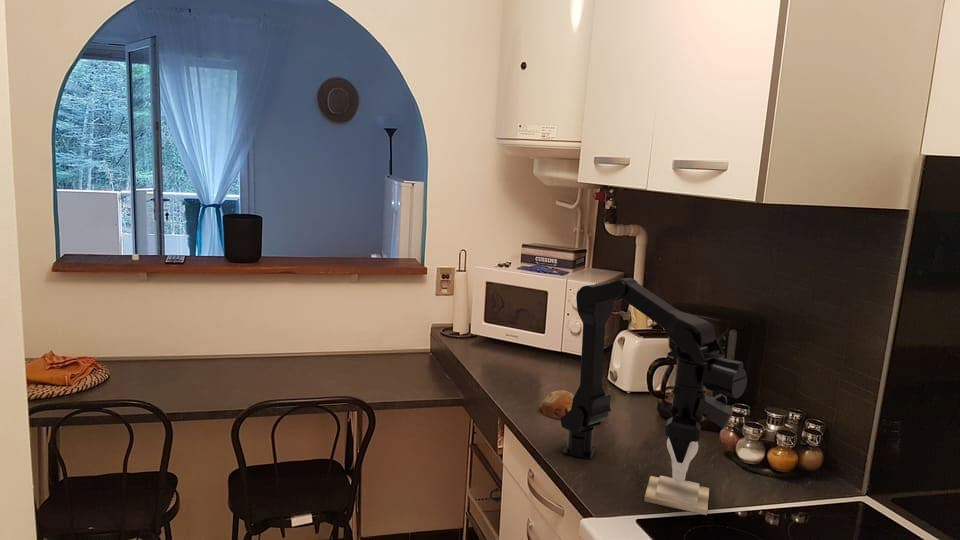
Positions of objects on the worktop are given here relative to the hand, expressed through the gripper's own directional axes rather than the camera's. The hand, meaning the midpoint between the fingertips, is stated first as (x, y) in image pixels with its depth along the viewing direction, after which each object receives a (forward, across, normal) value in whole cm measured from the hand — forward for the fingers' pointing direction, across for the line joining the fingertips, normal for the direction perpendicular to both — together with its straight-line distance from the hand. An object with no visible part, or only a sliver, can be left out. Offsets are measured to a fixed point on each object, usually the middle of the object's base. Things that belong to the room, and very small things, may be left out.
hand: (681, 456), depth 137 cm
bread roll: (+9, +34, +32) cm, 48 cm away
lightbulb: (+6, 0, 0) cm, 6 cm away
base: (+9, 0, 0) cm, 9 cm away
